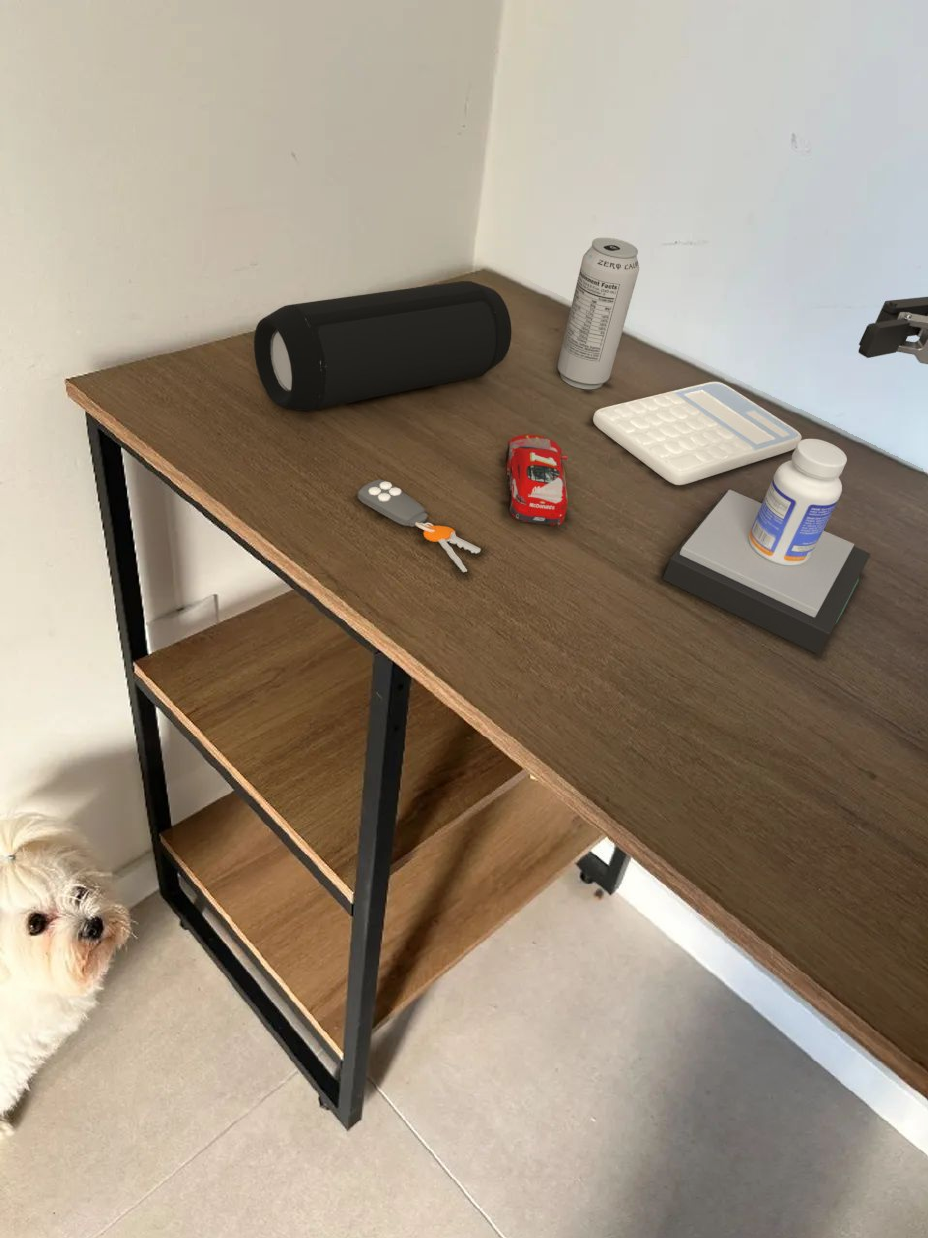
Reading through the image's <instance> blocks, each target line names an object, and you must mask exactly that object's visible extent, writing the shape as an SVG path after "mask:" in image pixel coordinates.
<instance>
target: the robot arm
mask: <svg viewBox="0 0 928 1238" xmlns="http://www.w3.org/2000/svg"><path fill="white" fill-rule="evenodd" d="M915 336H916V337H917V338H918V340H916V341H910V340H908V337H915ZM858 346H859V347H858V354H860V355H861V356H862V357H863V356H864V358H866V359H870V358H871V359H872V358H875V357H879V356H881V357H882V356H885V355H891V354H896V353H902V354H908V355H913V356H914V357H915V359H916V360H917V361H918V362H919V363H920V364H922V365H923V364H924V365H928V296H921V297H919V296H918V297H909V298H901V299H891V300H885V301H884V302H883V305H882V307H881V309H880V311H879V313H878V315H877V318H876V320H875V322H871V323H869V324H868V325H866V328H865V330H864V332H863V334H862V336H861V339H860V340H859V343H858Z"/></svg>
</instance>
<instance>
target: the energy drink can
mask: <svg viewBox="0 0 928 1238" xmlns="http://www.w3.org/2000/svg"><path fill="white" fill-rule="evenodd" d="M638 253H639V250H638V248H637V247H636V246H635V245H634V244H632V243H630V242H628V241H626V240H623V239H619V238H614V237H596V238H593V240H592V242H591V246H590V247H589V249H587V250H586V252H585V253H584V254H583V256H582V259H581V264H580V268H579V272H578V276H577V280H576V285H575V289H574V293H573V297H572V302H571V306H570V310H569V315H568V320H567V324H566V328H565V332H564V337H563V341H562V345H561V349H560V354H559V357H558V363H557V369H558V371H559V373H560V378H561V380H562V381H563V382H565V383H566V384H568V385H569V386H572V387H573V388H577V389H582V390H597V389H599V388H601V387H602V386H603V385H604V383H607V381H608V380H609V379H610V378H611V374H612V370H613V367H614V363H615V359H616V355H617V351H618V348H619V345H620V342H621V337H622V335H623V331H624V327H625V323H626V319H627V317H628V312H629V308H630V305H631V301H632V299H633V293H634V291H635V286H636V283H637V280H638V276H639V273H640V264H639V261H638Z"/></svg>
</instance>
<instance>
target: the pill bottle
mask: <svg viewBox="0 0 928 1238" xmlns="http://www.w3.org/2000/svg"><path fill="white" fill-rule="evenodd" d="M847 461H848V459H847V455H846V454H845V452H844V451H843V450H842V449H841V448H839V447H838V446H836V444H833V443H830V442H828V441H826V440H822V439H818V438H805V439H801V441H800V442H799V443H798V445H797V447H796V448H795V449H794V450H793V452H792V454H791V460H787V461H785V462H783V463H782V464H780V465H779V466H778V467H777V469H776V471H775V472H774V476H773V478H772V480H771V481H770V484H769V487H768V489H767V491H766V494H765V496H764V499H763V500H762V502H761V503H762V505H761V508H760V510H759V512H758V515H757V517H756V519H755V522H754V524H753V526H752V529H751V531H750V535H749V541H750V544H751V546H752V548H753V549H754V550H755V551H756V552H757V553H758V554H760V555H761V556H763V557H764V558H766V559H768V560H770V561H772V562H775V563H778V564H782V565H799V564H802V563H804V562H806V561H807V560H808V559H809V557H810V556H811V554H812V552H813V550H814V548H815V546H816V544H817V542H818V540H819V538H820V536H821V534H822V532H823V531H825V528H826V526H827V524H828V521H829V520H830V518H831V516H832V514H833V511H834V509H835V508H836V505H837V504H838V501H839V500H840V497H841V495H842V492H843V485H842V482H841V479H840V476H841V475H842V473H843V470H844V468H845V467H846V464H847Z"/></svg>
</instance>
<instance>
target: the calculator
mask: <svg viewBox="0 0 928 1238" xmlns="http://www.w3.org/2000/svg"><path fill="white" fill-rule="evenodd" d="M592 421H593V424H594V426H595V427H597V429H598V430H600V431H601V432H602V433H604V434H605V435H606V436H608V437H609V438H610V439H611V440H613V441H614V442H615V443H617V445H619V446H621V447H622V448H623V449H624V450H626V451H627V452H628V453H630V454H631V455H633V456H634V457H635V458H636V459H638V460H639V461H641V463H643V464H644V465H646V466H647V467H648V468H649V469H651V470H652V471H653V472H654V473H656V474H658V475H659V476H660V477H662V478H663V479H664V480H666V481H667V482H669V483H670V484H672V485H675V486H683V485H688V484H691V483H695V482H697V481H701V480H704V479H706V478H709V477H714V476H716V475H719V474H722V473H725V472H728V471H732V470H734V469H738V468H741V467H744V466H748V465H751V464H753V463H757V462H760V461H763V460H766V459H770V458H773V457H775V456H779V455H782V454H785V453H788V452H790V451H794V450H795V449H796V447H797V445H798V443H799V442H800V441H802V438H803V437H802V435H801V433H800V432H799V431H798V430H797V429H795V428H794V427H793V426H791V425H789V423H786V422H784V420H782V419H780V418H779V417H777V416H775V415H774V414H772V413H771V412H769V411H768V410H766V409H765V408H763V407H762V406H760V405H758V404H757V403H756V402H754V401H752V400H751V399H749V398H747V397H746V396H744V395H743V394H741V393H740V392H738V391H737V390H735V389H733V388H732V387H730V386H729V385H727V384H725V383H723V382H722V381H721V382H720V381H709V382H704V383H700V384H696V385H692V386H688V387H684V388H680V389H676V390H671V391H667V392H662V393H658V394H655V395H651V396H646V397H642V398H638V399H634V400H630V401H626V402H621V403H618V404H617V403H616V404H613V405H609V406H606V407H601V408H599V409H597V410H596V411H595V412H594V414H593V418H592Z"/></svg>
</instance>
